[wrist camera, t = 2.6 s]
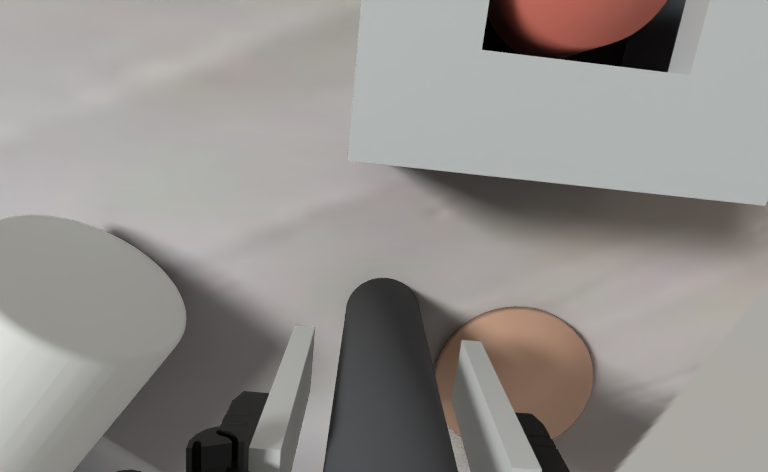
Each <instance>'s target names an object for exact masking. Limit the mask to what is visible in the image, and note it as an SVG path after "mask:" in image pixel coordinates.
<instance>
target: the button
mask: <svg viewBox="0 0 768 472" xmlns="http://www.w3.org/2000/svg"><path fill="white" fill-rule="evenodd" d="M666 1H667V0H489V6H488V16H489V19H490V21H491V24H492V25H493V27H494V29H495V31H496V32H497V34H498V35H499V36H500V37H501V39H502V40H503V41H504V42H505V43H506V44H507V45H508V46H510V47H511V48H512V49H514V50H515V51H517V52H519V53H521V54H523V55H529V56H537V57H545V58H553V59H561V58H565V57H569V56H572V55H575V54H578V53H582V52H585V51H588V50H592V49H595V48H598V47H601V46H605V45H608V44H611V43H614V42H617V41H619V40H622V39H624V38H626V37H628V36H630V35H632V34H634V33H635V32H636V31H638V30H639V29H641V28H642V27H644V26H645V25H646V24H647V23H648V22H649V21H650V20H652V19H653V17H654V16H655V15H656V14H657V13H658V12H659V11H660V10H661V8H662V7H663V6H664V4H665V3H666Z"/></svg>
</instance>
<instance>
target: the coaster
mask: <svg viewBox="0 0 768 472" xmlns="http://www.w3.org/2000/svg"><path fill="white" fill-rule="evenodd" d="M462 340H469V341H480V342H481V343H482V345H483V347H484V349H485V351H486V353H487V355H488V357H489V360H490V362H491V364H492V366H493V368H494V370H495V372H496V374H497V376H498V378H499V381H500V383H501V385H502V387H503V389H504V391H505V393H506V395H507V397H508V399H509V402H510V404H511V406H512V408H513V410H514V412H517V413H530V414H533V415H534V416H535V417H536V418H537V419H538V420H539V421H540V422H541V423H543V424H544V426H545V428H546V430H547V431H548V433H549V435H550V439H552V440H553V439H555V438H556V437H558V436H559V435H561V434H562V433H563V432H565V431H566V430H567V429H568V428H569V427H570V426H571V425H572V424H573V423H574V422H575V421H576V420H577V419H578V417H579V416H580V415H581V413H582V412H583V410H584V409H585V407H586V404H587V402H588V400H589V397H590V394H591V391H592V386H593V375H594V373H593V364H592V360H591V357H590V354H589V352H588V349H587V347H586V346H585V344H584V342H583V341H582V339H581V338H580V337H579V336H578V335H577V334H576V332H575V331H574V330H573V329H572V328H571V327H570V326H569V325H568V324H566V323H565V322H564V321H563V320H561V319H560V318H558V317H556V316H555V315H553V314H550V313H548V312H546V311H543V310H539V309H536V308H529V307H505V308H500V309H495V310H492V311H489V312H486V313H483V314H481V315H479V316H477V317H475V318H473V319H472V320H470V321H469V322H467V323H465V324H464V325H463V326H462V327H461V328H459V329H458V330H457V331H456V332H455V333H454V334H453V335H452V336H451V337H450V339H449V340H448V341H447V343H446V344H445V346H444V347H443V349H442V351H441V353H440V355H439V358H438V360H437V363H436V367H435V372H434V373H435V377H436V381H437V385H438V390H439V394H440V398H441V402H442V407H443V411H444V415H445V419H446V423H447V424H448V425H449V426H450V428H451V429H452V430H453V431H454V432H455V433H456V434H457V435H459V436H460V437H461V434H460V430H459V427H458V423H457V419H456V416H455V412H454V408H453V405H452V401H451V400H452V395H453V389H454V383H455V377H456V371H457V365H458V359H459V353H460V347H461V341H462Z"/></svg>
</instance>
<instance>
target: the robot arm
mask: <svg viewBox="0 0 768 472" xmlns="http://www.w3.org/2000/svg"><path fill="white" fill-rule="evenodd" d="M314 333H315V327H312V326H301V325H295V327H294V329H293V332H292V335H291V337H290V340H289V343H288V345H287V348H286V351H285V353H284V356H283V359H282V361H281V364H280V366H279V369H278V372H277V374H276V377H275V380H274V382H273V385H272V388H271V390H270V393H259V392H247V391H244V392H243V393H241V394H240V395H239V396H238V397H237V398H235V399H234V400H233V401H232V403H231V405H230V407H229V409H228V411H227V414H226V415H225V417H224V419H223V421H222V424H221V425H220V427H214V428H210V429H206V430H204V431H202V432H200V433H198V434H196V435H195V436H194V437H193V438H192V439H191V440H190V441H189V443H188V445H187V448H186V472H291V470H292V465H293V461H294V457H295V453H296V448H297V444H298V440H299V435H300V431H301V427H302V422H303V418H304V414H305V409H306V405H307V401H308V396H309V392H310V385H311V372H312V359H313V346H314ZM451 401H452V405H453V408H454V412H455V416H456V419H457V423H458V427H459V430H460V434H461V438H462V441H463V445H464V449H465V452H466V456H467V460H468V463H469V467H470V471H471V472H570V471H569V469H568V468H567V466H566V464H565V462H564V460H563V459H562V457H561V455H560V453H559V451H558V449H556V446H555V444H554V442H553V440H552V439H550V435H549V433H548V431H547V430H546V428H545V426H544V424H543V423H541V422H540V421H539V420H538V419H537V418H536V417H535V416H534V415H533V414H530V413H517V412H514V410H513V408H512V406H511V404H510V402H509V399H508V397H507V395H506V393H505V391H504V389H503V387H502V385H501V383H500V381H499V378H498V376H497V374H496V372H495V370H494V368H493V366H492V364H491V362H490V360H489V357H488V355H487V353H486V351H485V349H484V347H483V345H482V343H481V342H480V341H469V340H462V341H461V347H460V353H459V359H458V365H457V371H456V377H455V383H454V389H453V395H452V400H451ZM117 472H141V471H136V470H122V471H117Z"/></svg>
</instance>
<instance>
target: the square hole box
mask: <svg viewBox="0 0 768 472" xmlns="http://www.w3.org/2000/svg"><path fill="white" fill-rule="evenodd" d="M488 6H489V0H361V11H360V22H359V33H358V45H357V56H356V68H355V79H354V90H353V102H352V113H351V124H350V136H349V147H348V158H347V161H355V162H364V163H373V164H383V165H392V166H401V167H410V168H420V169H429V170H438V171H447V172H457V173H466V174H475V175H484V176H494V177H503V178H512V179H521V180H531V181H540V182H549V183H558V184H568V185H577V186H586V187H595V188H605V189H614V190H623V191H632V192H642V193H651V194H660V195H669V196H679V197H688V198H697V199H706V200H716V201H725V202H734V203H743V204H753V205H762V206H766V204H767V201H768V0H667V1H666V3H665V4H664V6H663V7H662V8H661V10H660V11H659V12H658V13H657V14H656V15H655V16H654V17H653V19H652V20H650V21H649V22H648V23H647V24H646V25H645V26H644V27H642V28H641V29H639V30H638V31H636V32H635V33H634V34H632V35H630V36H628V39H627V43H626V47H625V52H624V56H623V60H622V65H621V67H619V66H611V65H603V64H594V63H586V62H578V61H570V60H562V59H553V58H545V57H537V56H529V55H521V54H513V53H504V52H496V51H488V50H482V45H483V39H484V32H485V26H486V19H487V13H488Z"/></svg>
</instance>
